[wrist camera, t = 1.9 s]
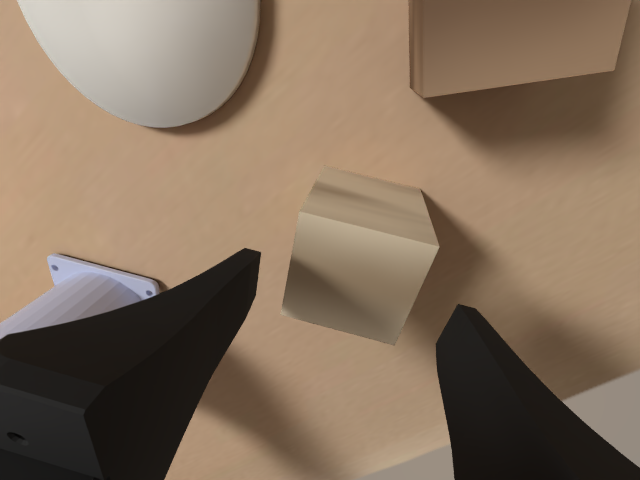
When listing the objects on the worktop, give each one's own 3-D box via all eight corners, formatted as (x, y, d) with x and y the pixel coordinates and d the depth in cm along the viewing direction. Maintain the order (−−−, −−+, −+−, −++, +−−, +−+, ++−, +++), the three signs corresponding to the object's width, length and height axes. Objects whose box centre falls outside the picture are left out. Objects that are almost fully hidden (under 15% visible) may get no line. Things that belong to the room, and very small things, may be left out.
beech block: (390, 267, 19) (394, 345, 13) (307, 246, 19) (280, 314, 14) (420, 188, 16) (439, 246, 11) (324, 164, 16) (299, 211, 11)
